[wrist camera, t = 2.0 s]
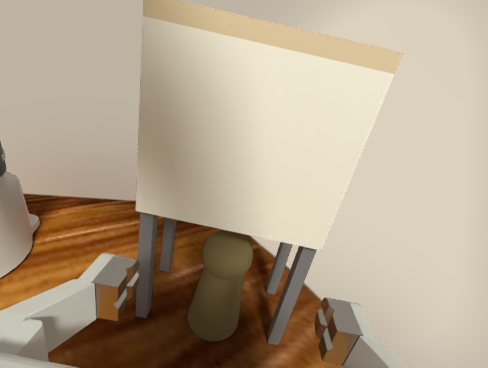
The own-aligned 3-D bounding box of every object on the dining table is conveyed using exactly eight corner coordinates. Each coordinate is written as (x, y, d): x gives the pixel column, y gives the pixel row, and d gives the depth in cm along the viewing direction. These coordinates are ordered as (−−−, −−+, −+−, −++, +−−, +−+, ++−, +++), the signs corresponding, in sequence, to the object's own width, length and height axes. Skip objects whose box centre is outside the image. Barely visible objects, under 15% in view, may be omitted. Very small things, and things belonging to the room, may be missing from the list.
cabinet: (278, 353, 27) (403, 52, 15) (131, 323, 26) (143, -8, 15) (274, 283, 36) (349, 62, 24) (165, 260, 35) (188, 25, 24)
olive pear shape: (191, 291, 32) (204, 219, 27) (238, 298, 32) (257, 228, 28) (182, 338, 26) (195, 256, 22) (238, 344, 27) (262, 266, 22)
